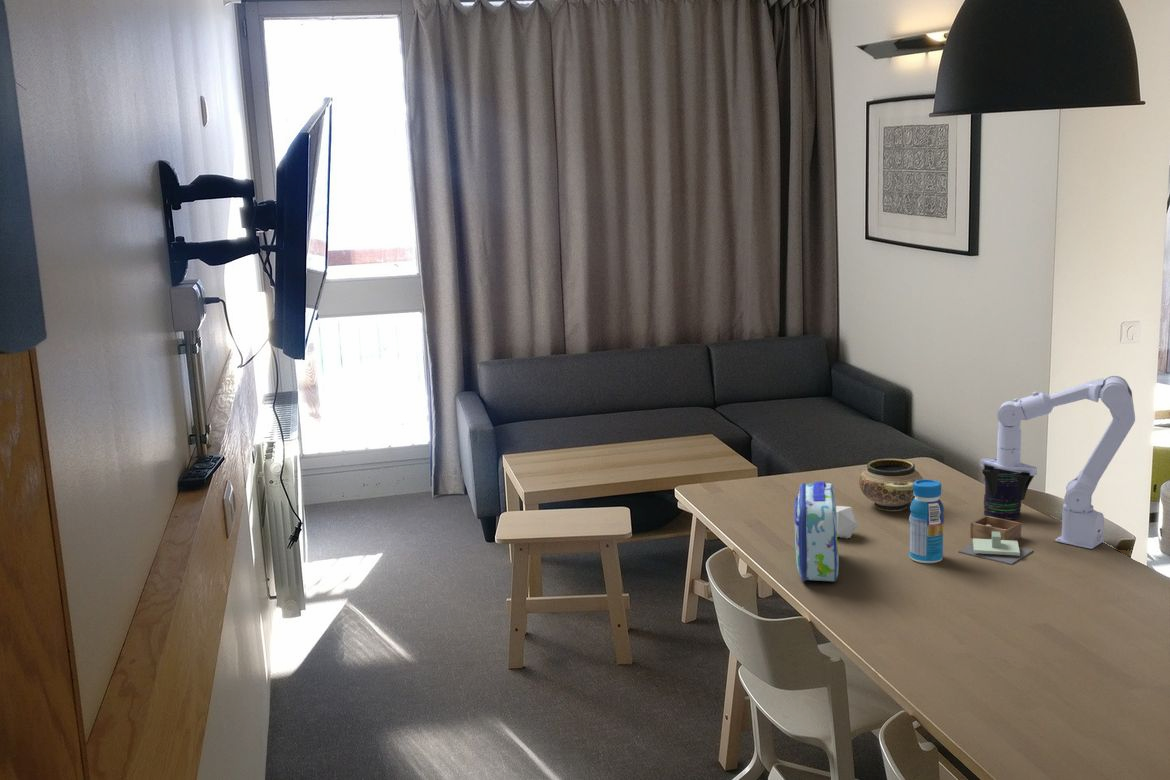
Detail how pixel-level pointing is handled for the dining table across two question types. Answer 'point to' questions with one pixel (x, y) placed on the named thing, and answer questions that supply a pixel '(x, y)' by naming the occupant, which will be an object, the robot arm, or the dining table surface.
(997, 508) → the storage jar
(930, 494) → the beverage bottle
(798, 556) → the lunch box
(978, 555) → the mat
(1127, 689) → the dining table surface
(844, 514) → the die
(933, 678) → the dining table surface
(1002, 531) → the box
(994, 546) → the lid
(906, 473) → the ceramic bowl
